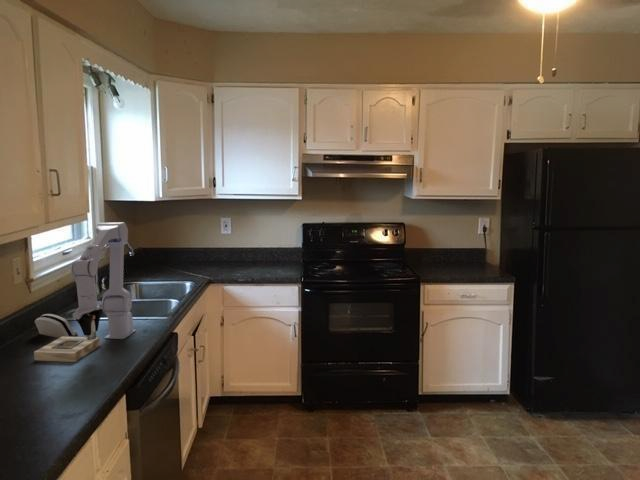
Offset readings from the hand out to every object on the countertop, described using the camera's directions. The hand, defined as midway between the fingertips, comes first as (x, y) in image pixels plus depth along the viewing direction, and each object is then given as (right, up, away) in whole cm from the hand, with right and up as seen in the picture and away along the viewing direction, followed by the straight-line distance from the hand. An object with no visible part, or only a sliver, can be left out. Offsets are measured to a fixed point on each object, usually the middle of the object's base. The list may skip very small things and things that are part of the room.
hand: (90, 333), depth 169 cm
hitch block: (-11, -8, +6) cm, 15 cm away
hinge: (-25, -6, +24) cm, 35 cm away
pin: (0, -2, 0) cm, 2 cm away
